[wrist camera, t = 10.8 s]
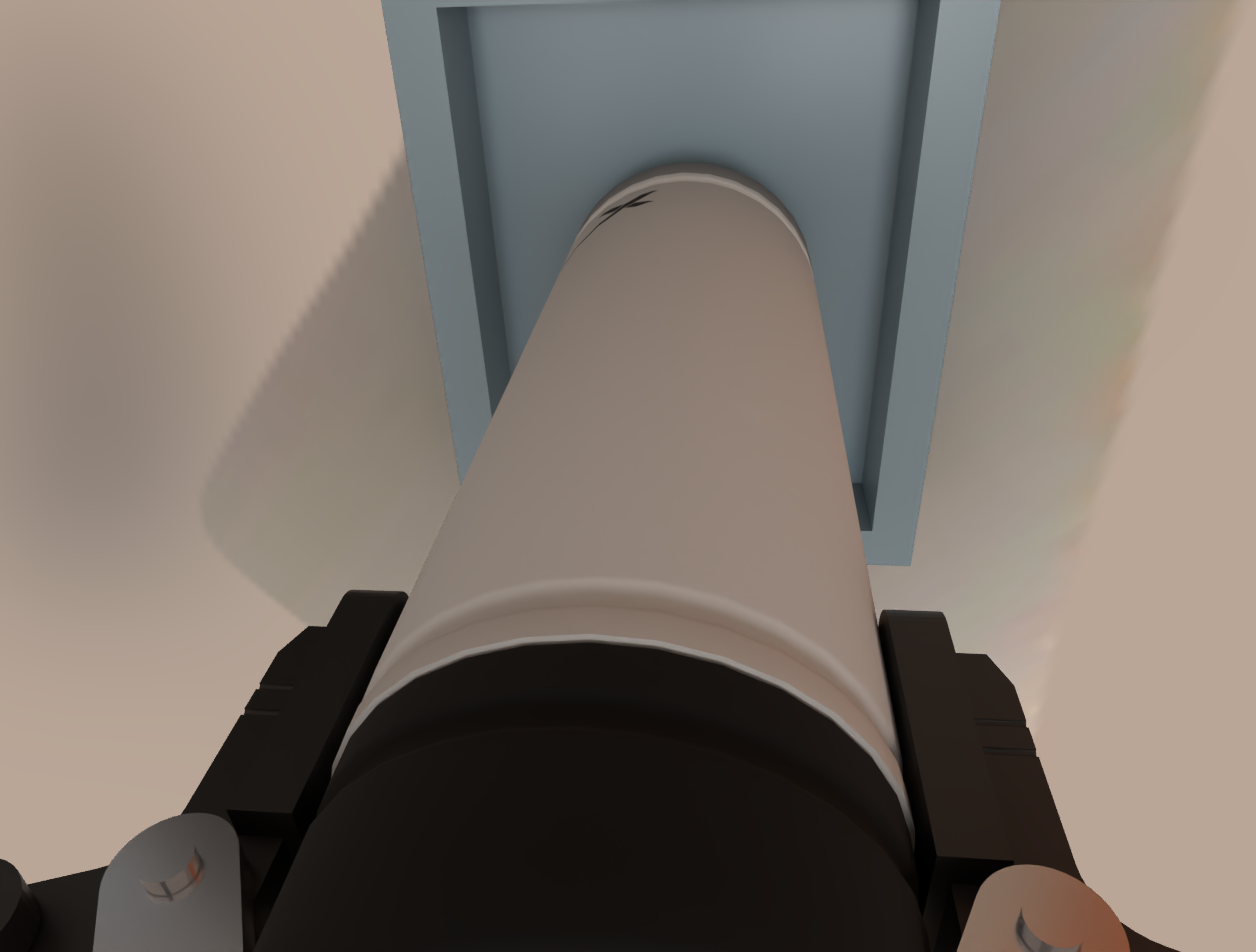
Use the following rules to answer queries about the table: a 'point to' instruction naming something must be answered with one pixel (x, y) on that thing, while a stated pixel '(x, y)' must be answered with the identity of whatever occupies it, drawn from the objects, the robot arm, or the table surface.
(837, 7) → the slate tray
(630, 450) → the travel mug
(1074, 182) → the table surface
